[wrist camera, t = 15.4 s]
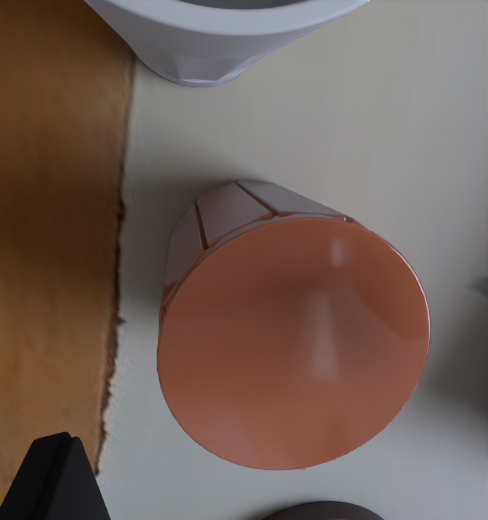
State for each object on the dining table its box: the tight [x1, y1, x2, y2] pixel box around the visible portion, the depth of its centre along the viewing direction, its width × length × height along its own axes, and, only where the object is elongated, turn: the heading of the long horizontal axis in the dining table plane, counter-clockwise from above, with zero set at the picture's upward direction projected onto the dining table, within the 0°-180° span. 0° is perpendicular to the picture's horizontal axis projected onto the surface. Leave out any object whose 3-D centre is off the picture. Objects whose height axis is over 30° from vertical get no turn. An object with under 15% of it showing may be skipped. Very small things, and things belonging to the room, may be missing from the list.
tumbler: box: [157, 181, 431, 470], centre depth 15 cm, size 7×7×9 cm
